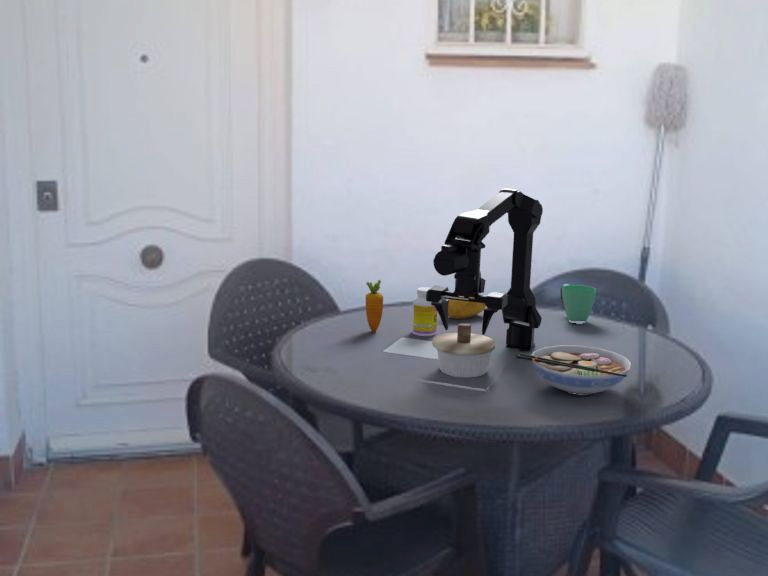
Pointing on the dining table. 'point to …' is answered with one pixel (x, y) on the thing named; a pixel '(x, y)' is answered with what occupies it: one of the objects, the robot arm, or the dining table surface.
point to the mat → (413, 348)
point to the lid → (464, 342)
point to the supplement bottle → (424, 315)
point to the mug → (577, 301)
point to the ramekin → (463, 364)
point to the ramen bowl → (579, 367)
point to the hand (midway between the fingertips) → (465, 332)
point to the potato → (464, 308)
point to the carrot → (374, 306)
